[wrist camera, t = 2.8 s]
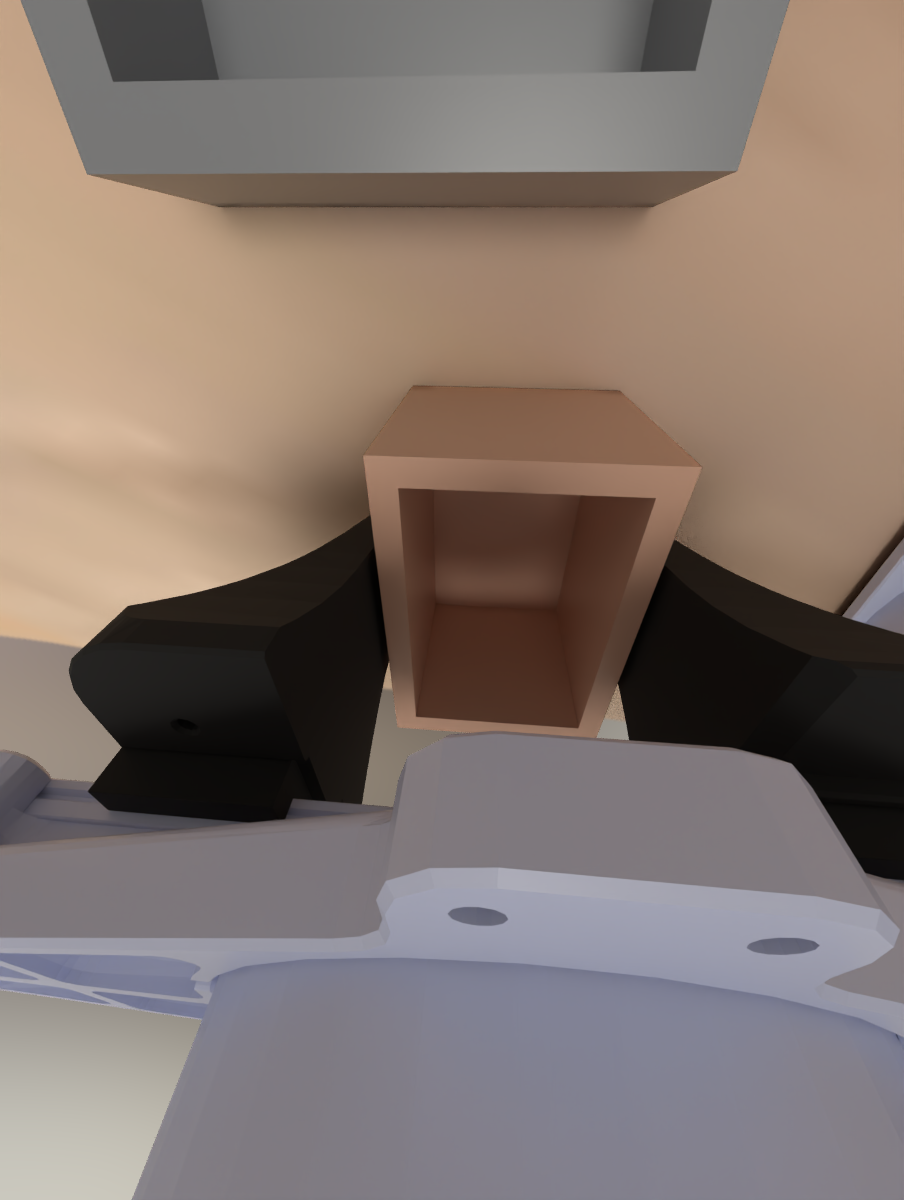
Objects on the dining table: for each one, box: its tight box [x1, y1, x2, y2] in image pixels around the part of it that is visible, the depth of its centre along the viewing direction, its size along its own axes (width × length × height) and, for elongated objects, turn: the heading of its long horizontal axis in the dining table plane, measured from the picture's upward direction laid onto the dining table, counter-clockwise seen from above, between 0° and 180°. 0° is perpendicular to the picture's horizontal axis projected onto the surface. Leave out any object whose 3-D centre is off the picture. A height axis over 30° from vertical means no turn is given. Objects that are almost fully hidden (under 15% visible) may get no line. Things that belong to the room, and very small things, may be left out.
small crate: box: [363, 386, 702, 738], centre depth 10 cm, size 5×7×5 cm
